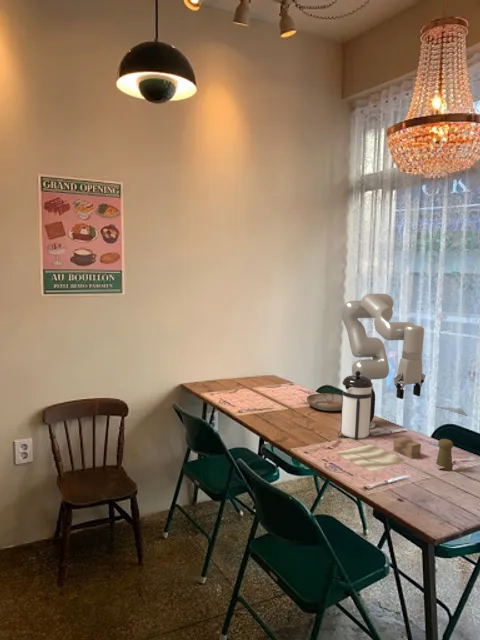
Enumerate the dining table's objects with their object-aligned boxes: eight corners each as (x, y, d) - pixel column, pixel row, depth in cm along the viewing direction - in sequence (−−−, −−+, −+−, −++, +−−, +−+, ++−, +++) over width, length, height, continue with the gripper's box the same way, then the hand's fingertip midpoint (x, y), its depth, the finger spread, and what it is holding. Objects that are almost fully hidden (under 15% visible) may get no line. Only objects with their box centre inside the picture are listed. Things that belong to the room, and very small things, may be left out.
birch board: (333, 456, 197) (333, 452, 197) (370, 448, 207) (370, 444, 207) (370, 475, 180) (370, 471, 180) (408, 465, 190) (409, 461, 190)
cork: (438, 463, 193) (440, 436, 191) (454, 467, 189) (456, 439, 188) (433, 468, 188) (435, 440, 187) (449, 472, 184) (451, 444, 183)
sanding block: (393, 453, 201) (393, 438, 200) (401, 451, 203) (402, 436, 203) (411, 461, 193) (412, 446, 192) (419, 458, 196) (420, 443, 195)
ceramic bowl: (297, 404, 270) (298, 395, 270) (333, 400, 281) (333, 391, 280) (322, 416, 250) (323, 406, 249) (359, 411, 260) (360, 402, 259)
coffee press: (375, 445, 210) (379, 375, 207) (337, 441, 214) (340, 373, 210) (373, 432, 227) (376, 367, 224) (337, 429, 230) (340, 365, 227)
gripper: (419, 352, 208) (415, 391, 211) (389, 355, 200) (386, 396, 202) (434, 356, 202) (430, 396, 204) (404, 359, 193) (400, 402, 196)
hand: (408, 396), depth 203 cm, fingers open, 9 cm apart
